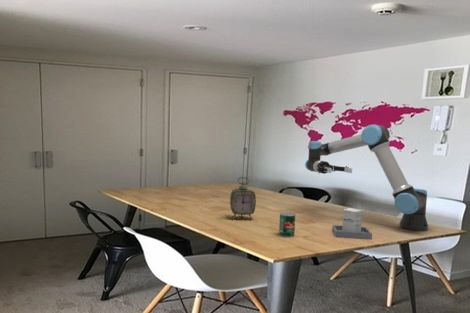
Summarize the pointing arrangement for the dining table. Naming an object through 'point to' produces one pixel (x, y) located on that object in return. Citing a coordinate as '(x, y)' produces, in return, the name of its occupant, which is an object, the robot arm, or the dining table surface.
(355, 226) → the supplement box
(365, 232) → the gray tray
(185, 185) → the dining table surface
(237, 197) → the tabletop clock
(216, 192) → the dining table surface
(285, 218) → the canned tomato
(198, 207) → the dining table surface
